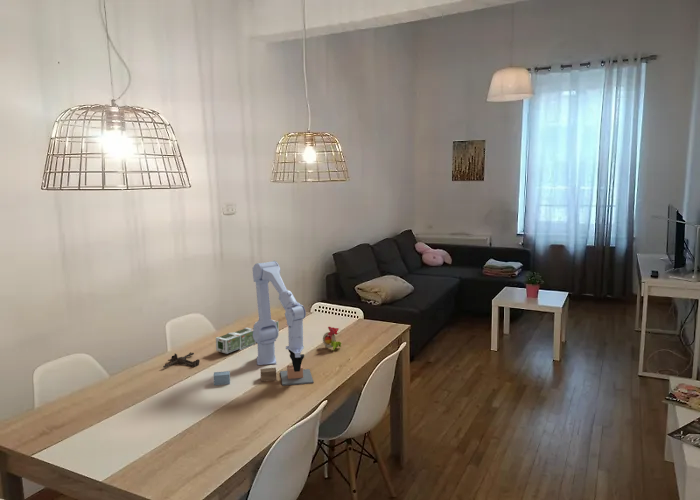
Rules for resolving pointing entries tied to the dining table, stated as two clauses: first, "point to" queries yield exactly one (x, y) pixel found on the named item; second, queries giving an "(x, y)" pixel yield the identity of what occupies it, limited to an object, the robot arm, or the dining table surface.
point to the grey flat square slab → (293, 381)
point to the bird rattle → (331, 338)
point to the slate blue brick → (221, 378)
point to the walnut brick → (268, 374)
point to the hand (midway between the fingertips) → (296, 368)
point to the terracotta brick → (292, 373)
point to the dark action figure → (182, 360)
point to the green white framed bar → (236, 340)
